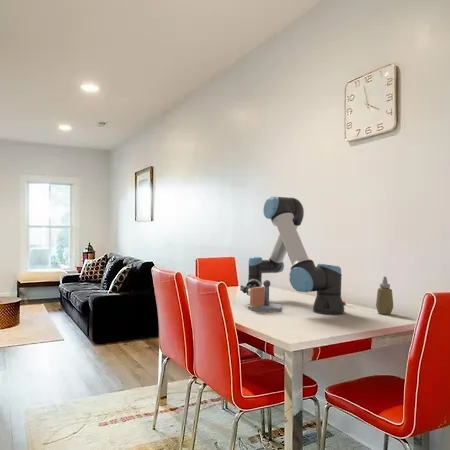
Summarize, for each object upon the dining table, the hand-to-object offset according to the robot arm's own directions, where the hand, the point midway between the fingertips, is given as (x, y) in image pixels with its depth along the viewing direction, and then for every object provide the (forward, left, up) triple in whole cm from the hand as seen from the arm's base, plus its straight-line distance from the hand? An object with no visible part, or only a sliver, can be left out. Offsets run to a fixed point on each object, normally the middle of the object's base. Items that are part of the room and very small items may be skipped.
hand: (249, 293), depth 211 cm
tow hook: (+6, -56, -9) cm, 57 cm away
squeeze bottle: (-26, -60, -9) cm, 66 cm away
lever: (0, -6, -7) cm, 9 cm away
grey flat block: (+2, -9, -8) cm, 13 cm away
